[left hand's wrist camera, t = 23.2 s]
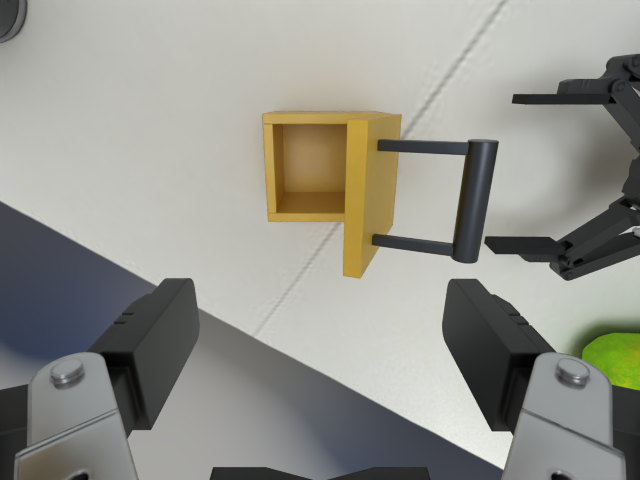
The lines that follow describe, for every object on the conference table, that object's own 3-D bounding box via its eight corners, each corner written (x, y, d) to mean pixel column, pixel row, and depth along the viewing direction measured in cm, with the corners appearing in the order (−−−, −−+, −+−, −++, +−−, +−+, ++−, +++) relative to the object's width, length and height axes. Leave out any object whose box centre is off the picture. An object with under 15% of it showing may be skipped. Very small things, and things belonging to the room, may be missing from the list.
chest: (278, 197, 44) (267, 221, 34) (275, 111, 40) (262, 113, 31) (371, 197, 44) (385, 222, 34) (376, 111, 40) (392, 113, 31)
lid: (342, 275, 24) (476, 299, 21) (347, 119, 20) (508, 122, 17) (380, 223, 34) (472, 234, 31) (387, 114, 30) (492, 115, 28)
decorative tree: (508, 424, 44) (782, 324, 38) (475, 366, 54) (689, 278, 47) (553, 508, 49) (799, 432, 43) (516, 441, 59) (713, 371, 53)
